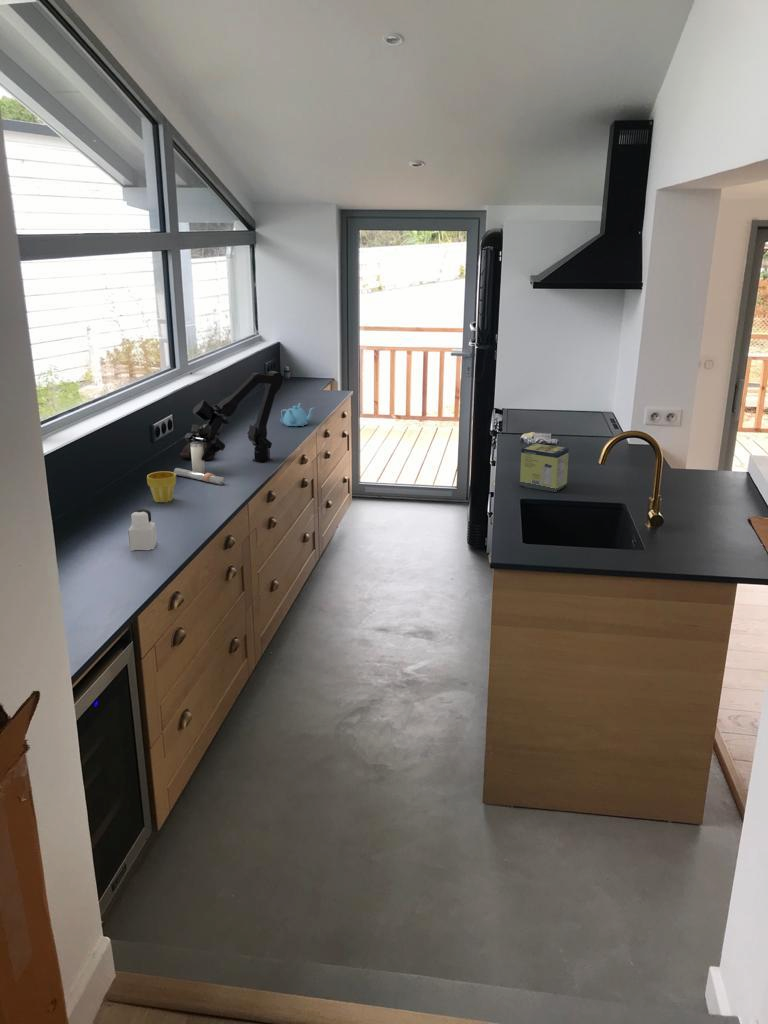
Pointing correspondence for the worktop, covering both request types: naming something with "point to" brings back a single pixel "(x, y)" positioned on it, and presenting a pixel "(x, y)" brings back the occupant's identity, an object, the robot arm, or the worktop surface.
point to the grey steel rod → (200, 476)
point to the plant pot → (162, 485)
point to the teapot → (296, 416)
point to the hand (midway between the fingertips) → (195, 458)
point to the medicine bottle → (142, 531)
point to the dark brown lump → (186, 449)
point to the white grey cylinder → (197, 457)
